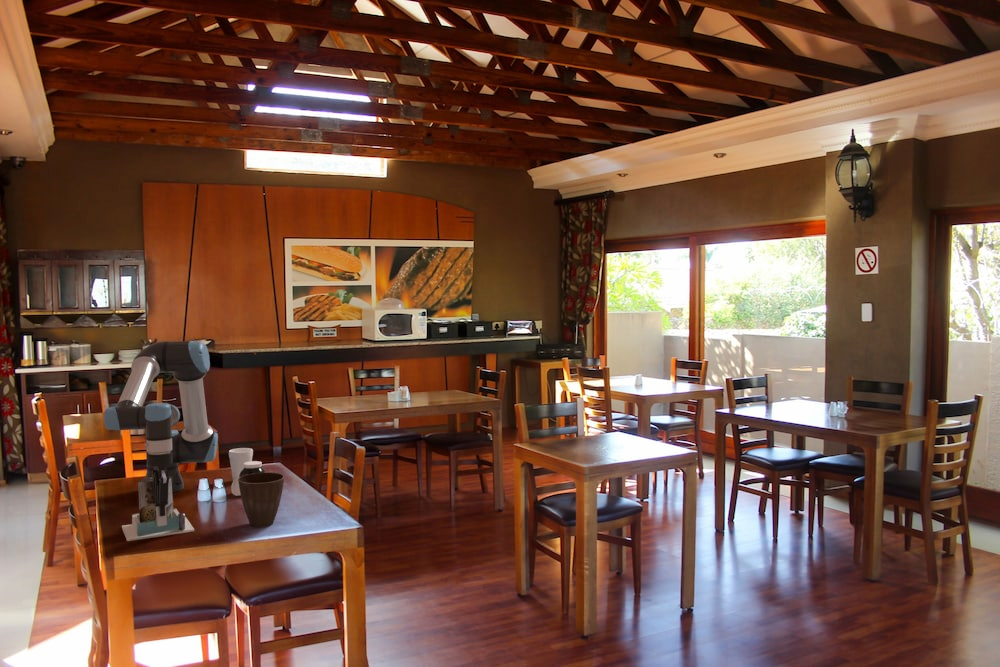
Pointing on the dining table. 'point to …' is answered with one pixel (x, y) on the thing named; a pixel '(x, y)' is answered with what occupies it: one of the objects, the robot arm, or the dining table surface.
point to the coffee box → (152, 500)
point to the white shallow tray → (131, 533)
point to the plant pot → (261, 497)
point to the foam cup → (239, 460)
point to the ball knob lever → (152, 527)
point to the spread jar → (248, 469)
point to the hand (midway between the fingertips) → (161, 525)
